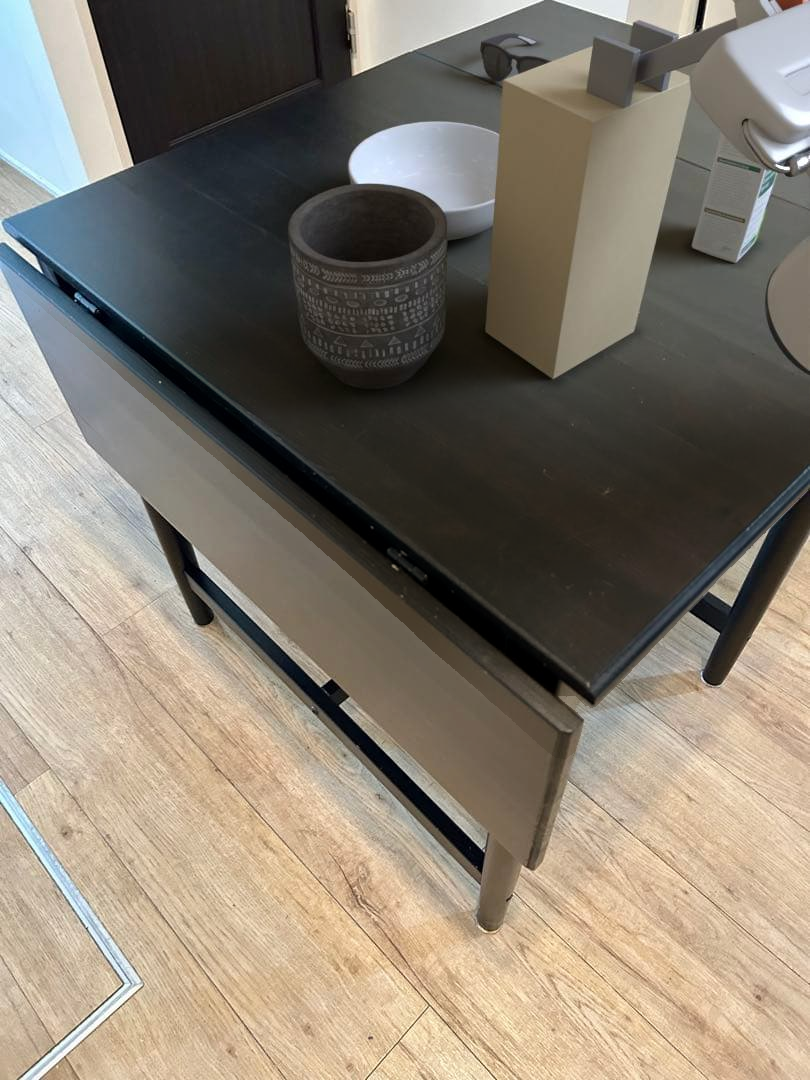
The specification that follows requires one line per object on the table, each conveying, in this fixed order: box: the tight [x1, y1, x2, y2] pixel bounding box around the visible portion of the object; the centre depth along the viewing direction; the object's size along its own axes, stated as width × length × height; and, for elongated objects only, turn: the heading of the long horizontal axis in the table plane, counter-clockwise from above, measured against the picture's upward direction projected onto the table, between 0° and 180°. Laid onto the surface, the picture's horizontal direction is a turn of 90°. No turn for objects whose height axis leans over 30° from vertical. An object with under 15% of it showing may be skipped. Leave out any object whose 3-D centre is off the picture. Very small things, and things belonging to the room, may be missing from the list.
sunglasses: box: [479, 32, 553, 83], centre depth 127 cm, size 16×17×5 cm
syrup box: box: [691, 132, 779, 264], centre depth 91 cm, size 6×6×14 cm
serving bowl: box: [347, 121, 499, 241], centre depth 99 cm, size 21×21×7 cm
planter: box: [287, 183, 448, 390], centre depth 79 cm, size 14×14×15 cm
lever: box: [634, 0, 810, 84], centre depth 58 cm, size 14×3×2 cm
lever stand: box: [484, 19, 692, 380], centre depth 76 cm, size 10×12×29 cm
